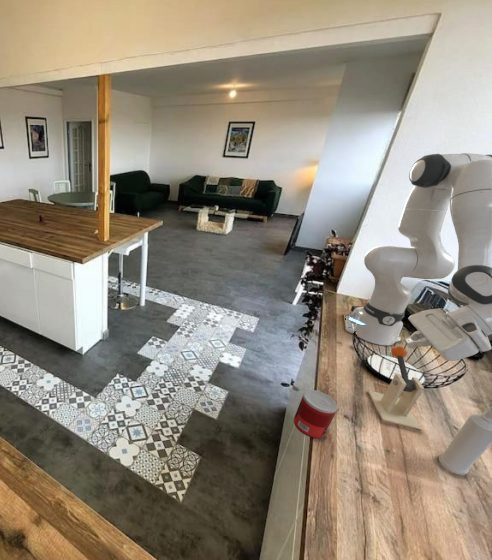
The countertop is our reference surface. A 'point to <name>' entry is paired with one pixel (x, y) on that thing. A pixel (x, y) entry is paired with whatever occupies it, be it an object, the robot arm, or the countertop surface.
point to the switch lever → (403, 367)
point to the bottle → (468, 443)
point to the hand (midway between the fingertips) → (406, 343)
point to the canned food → (315, 413)
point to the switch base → (398, 402)
